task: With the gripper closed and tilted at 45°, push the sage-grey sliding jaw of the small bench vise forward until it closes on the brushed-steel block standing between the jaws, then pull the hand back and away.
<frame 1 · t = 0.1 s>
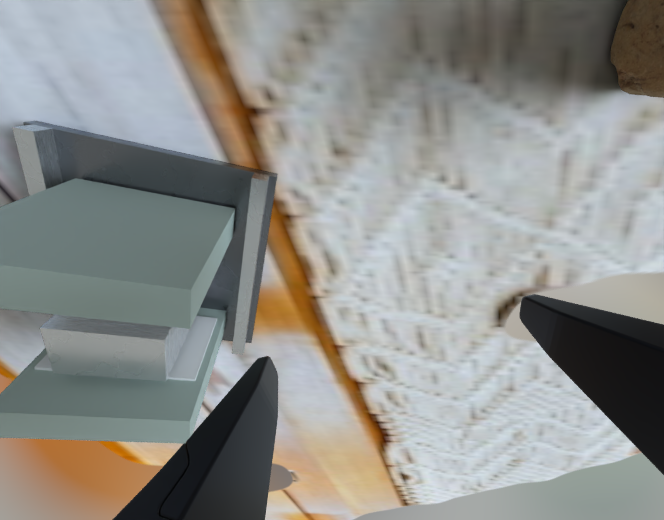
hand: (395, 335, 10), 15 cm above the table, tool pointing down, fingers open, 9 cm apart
steel block: (164, 279, 24), point 1 cm above the table, touching vise base
fixed jaw: (137, 358, 21), point 6 cm above the table
sliding jaw: (123, 242, 16), point 6 cm above the table, slide at 0.0 cm
vise base: (169, 272, 24), on the table
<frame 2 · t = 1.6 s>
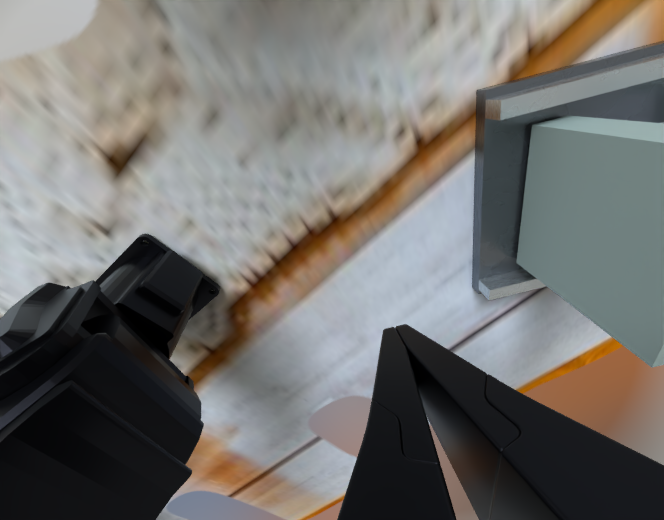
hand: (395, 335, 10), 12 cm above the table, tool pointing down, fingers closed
sliding jaw: (608, 226, 16), point 6 cm above the table, slide at 0.0 cm
vise base: (610, 171, 21), on the table
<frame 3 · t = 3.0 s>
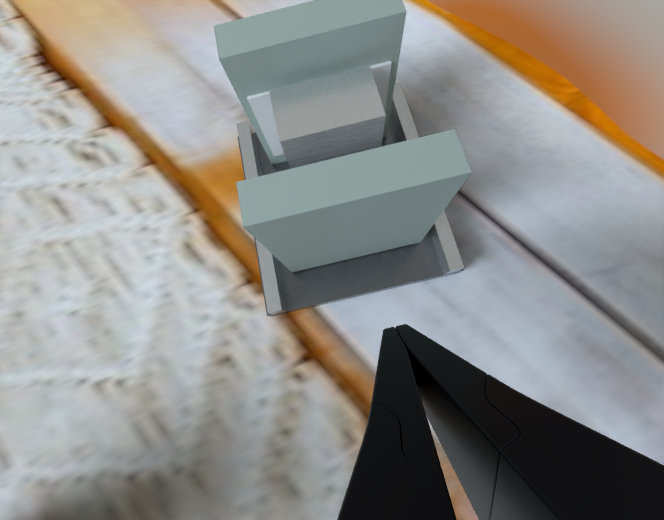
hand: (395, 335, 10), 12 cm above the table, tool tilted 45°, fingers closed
steel block: (335, 175, 24), point 1 cm above the table, touching vise base
fixed jaw: (319, 94, 20), point 6 cm above the table
sliding jaw: (351, 217, 18), point 6 cm above the table, slide at 0.0 cm
vise base: (335, 181, 25), on the table
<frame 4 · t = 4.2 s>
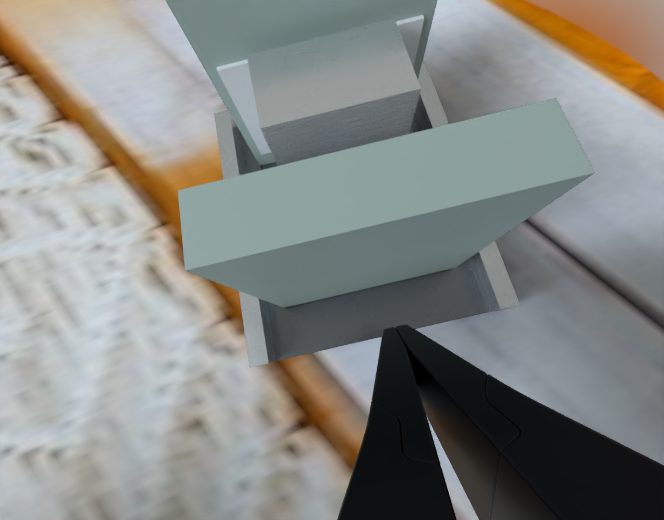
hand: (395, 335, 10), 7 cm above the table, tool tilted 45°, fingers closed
steel block: (340, 179, 19), point 1 cm above the table, touching vise base
fixed jaw: (320, 69, 15), point 6 cm above the table
sliding jaw: (366, 239, 12), point 6 cm above the table, slide at 0.0 cm
vise base: (341, 187, 20), on the table
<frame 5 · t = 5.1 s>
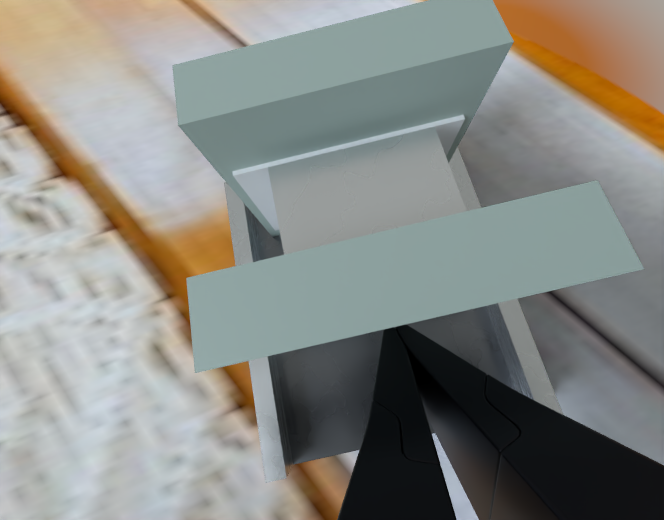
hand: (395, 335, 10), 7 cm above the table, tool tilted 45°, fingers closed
steel block: (360, 255, 17), point 1 cm above the table, touching vise base
fixed jaw: (343, 155, 14), point 6 cm above the table
sliding jaw: (381, 296, 12), point 6 cm above the table, slide at 2.8 cm
vise base: (359, 259, 18), on the table
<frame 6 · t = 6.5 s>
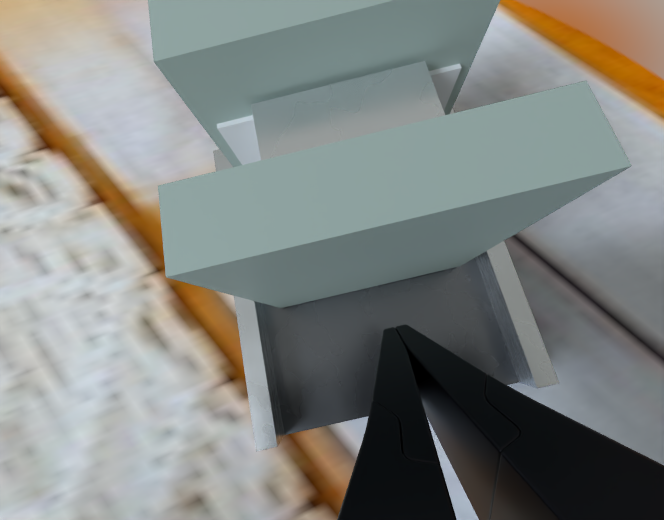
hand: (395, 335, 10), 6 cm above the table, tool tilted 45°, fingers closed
steel block: (351, 217, 17), point 1 cm above the table, touching vise base
fixed jaw: (334, 115, 13), point 6 cm above the table
sliding jaw: (368, 238, 11), point 6 cm above the table, slide at 3.5 cm
vise base: (353, 231, 18), on the table
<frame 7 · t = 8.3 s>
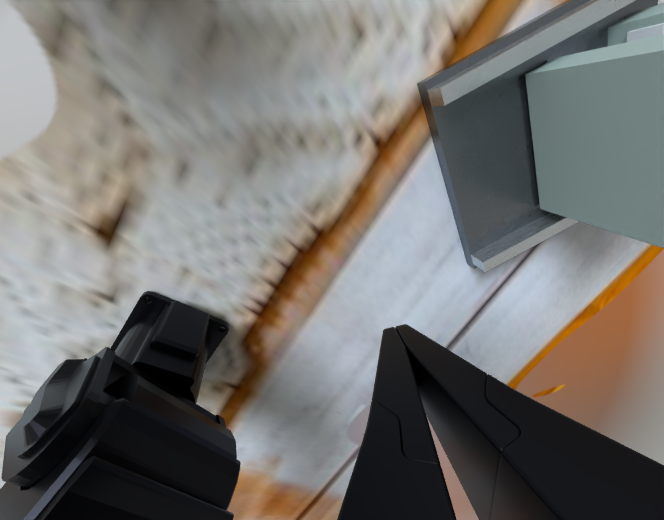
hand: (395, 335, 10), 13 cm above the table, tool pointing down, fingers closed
sliding jaw: (625, 146, 16), point 6 cm above the table, slide at 3.5 cm
vise base: (563, 123, 22), on the table
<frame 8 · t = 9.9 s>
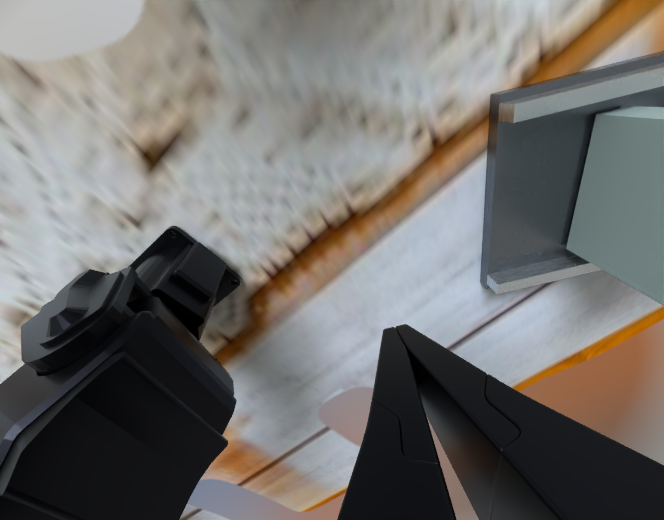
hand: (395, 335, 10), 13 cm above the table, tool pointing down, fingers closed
vise base: (614, 172, 22), on the table
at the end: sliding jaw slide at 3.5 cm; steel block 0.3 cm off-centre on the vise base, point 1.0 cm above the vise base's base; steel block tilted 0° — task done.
